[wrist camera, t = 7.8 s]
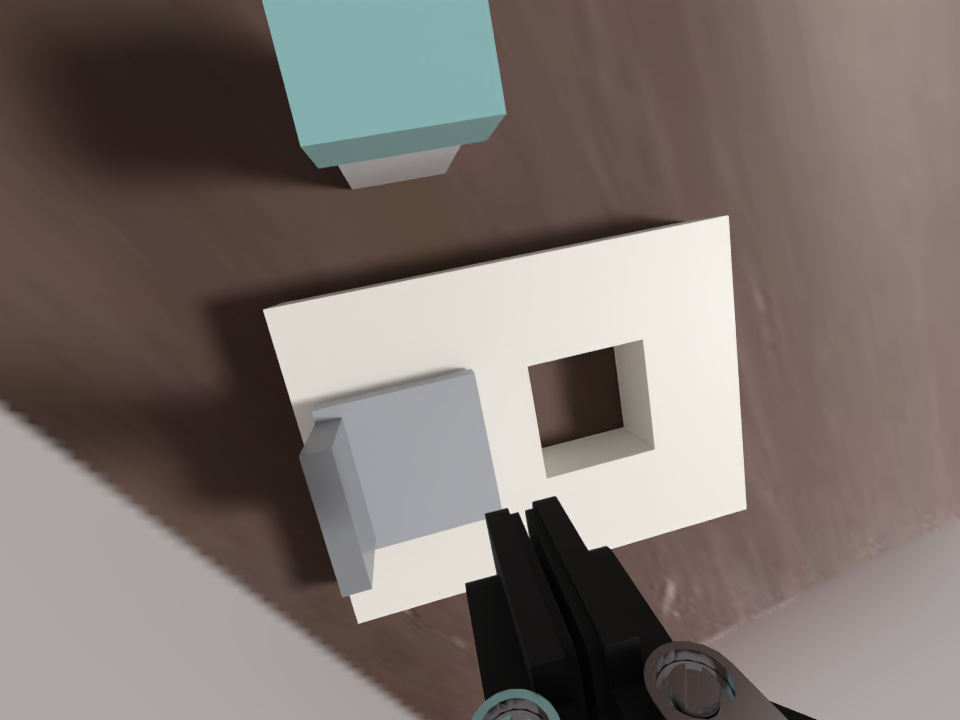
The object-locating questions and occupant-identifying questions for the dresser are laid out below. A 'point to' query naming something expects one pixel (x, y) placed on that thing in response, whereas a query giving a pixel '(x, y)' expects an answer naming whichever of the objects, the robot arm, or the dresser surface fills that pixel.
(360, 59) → the plug
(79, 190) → the dresser surface
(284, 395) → the dresser surface
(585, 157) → the dresser surface
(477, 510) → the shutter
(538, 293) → the socket
